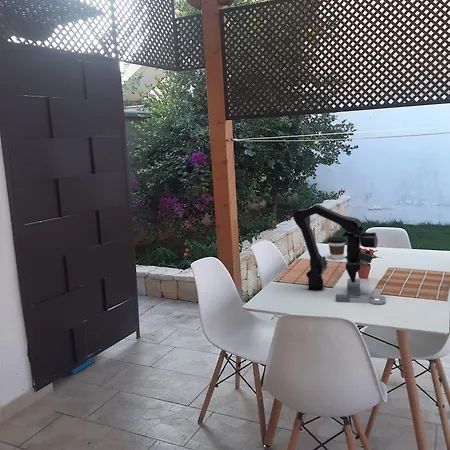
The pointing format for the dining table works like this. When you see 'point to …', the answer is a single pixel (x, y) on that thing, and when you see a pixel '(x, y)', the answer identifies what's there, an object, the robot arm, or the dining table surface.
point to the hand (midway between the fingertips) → (353, 279)
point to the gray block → (353, 287)
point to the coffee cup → (336, 247)
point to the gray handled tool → (363, 298)
